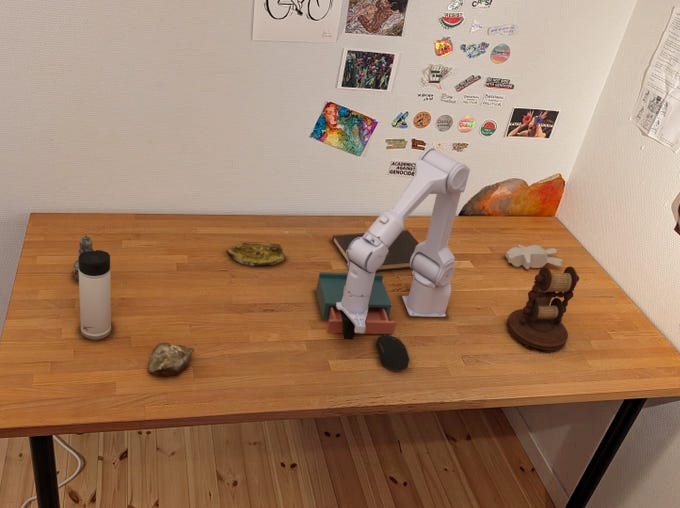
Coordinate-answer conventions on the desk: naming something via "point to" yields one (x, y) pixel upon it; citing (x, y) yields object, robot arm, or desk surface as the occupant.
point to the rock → (169, 358)
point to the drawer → (374, 323)
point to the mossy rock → (256, 254)
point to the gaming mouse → (392, 353)
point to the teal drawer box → (332, 293)
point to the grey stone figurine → (84, 246)
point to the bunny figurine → (532, 256)
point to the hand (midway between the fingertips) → (347, 337)
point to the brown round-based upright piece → (544, 310)
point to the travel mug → (95, 294)
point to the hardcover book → (397, 251)
